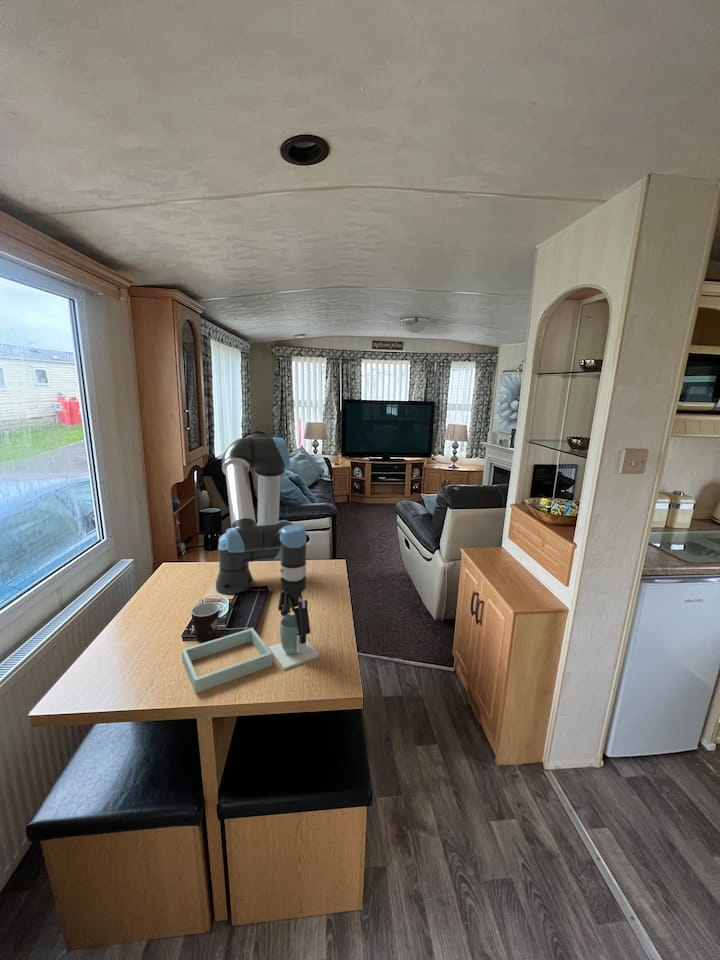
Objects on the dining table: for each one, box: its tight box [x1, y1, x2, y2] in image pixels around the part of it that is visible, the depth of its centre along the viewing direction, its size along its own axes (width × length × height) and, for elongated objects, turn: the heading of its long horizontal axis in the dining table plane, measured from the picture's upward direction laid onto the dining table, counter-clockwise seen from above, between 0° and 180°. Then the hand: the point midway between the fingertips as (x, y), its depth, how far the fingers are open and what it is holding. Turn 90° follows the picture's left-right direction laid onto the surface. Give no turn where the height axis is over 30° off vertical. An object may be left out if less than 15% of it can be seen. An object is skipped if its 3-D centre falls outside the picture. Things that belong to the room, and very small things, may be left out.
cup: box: [279, 614, 298, 654], centre depth 127 cm, size 8×8×10 cm
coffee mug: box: [187, 602, 220, 643], centre depth 133 cm, size 12×9×10 cm
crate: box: [181, 627, 273, 695], centre depth 122 cm, size 16×22×4 cm
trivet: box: [267, 639, 321, 671], centre depth 128 cm, size 12×12×1 cm
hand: (293, 642), depth 127 cm, fingers open, 10 cm apart
